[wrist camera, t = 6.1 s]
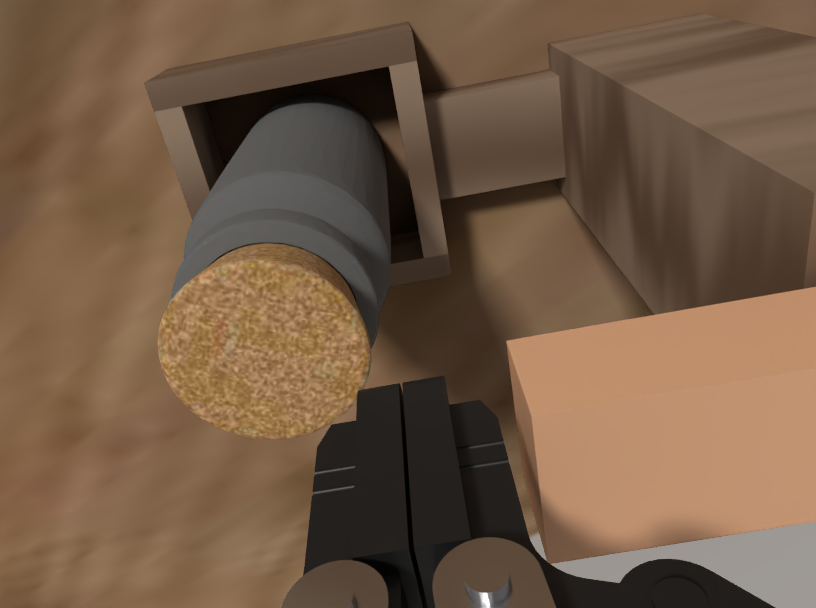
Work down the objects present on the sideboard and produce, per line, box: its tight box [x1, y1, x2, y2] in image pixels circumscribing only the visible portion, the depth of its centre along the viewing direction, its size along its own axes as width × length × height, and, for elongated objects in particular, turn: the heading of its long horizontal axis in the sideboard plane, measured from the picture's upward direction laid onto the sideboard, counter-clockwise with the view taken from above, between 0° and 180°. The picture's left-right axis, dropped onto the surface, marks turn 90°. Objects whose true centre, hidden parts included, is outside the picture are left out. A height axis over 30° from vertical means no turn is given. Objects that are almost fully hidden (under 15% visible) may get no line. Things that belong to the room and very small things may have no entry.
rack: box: [144, 14, 816, 315], centre depth 20 cm, size 10×21×18 cm, turn 100°
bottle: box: [158, 94, 391, 439], centre depth 21 cm, size 6×6×15 cm
